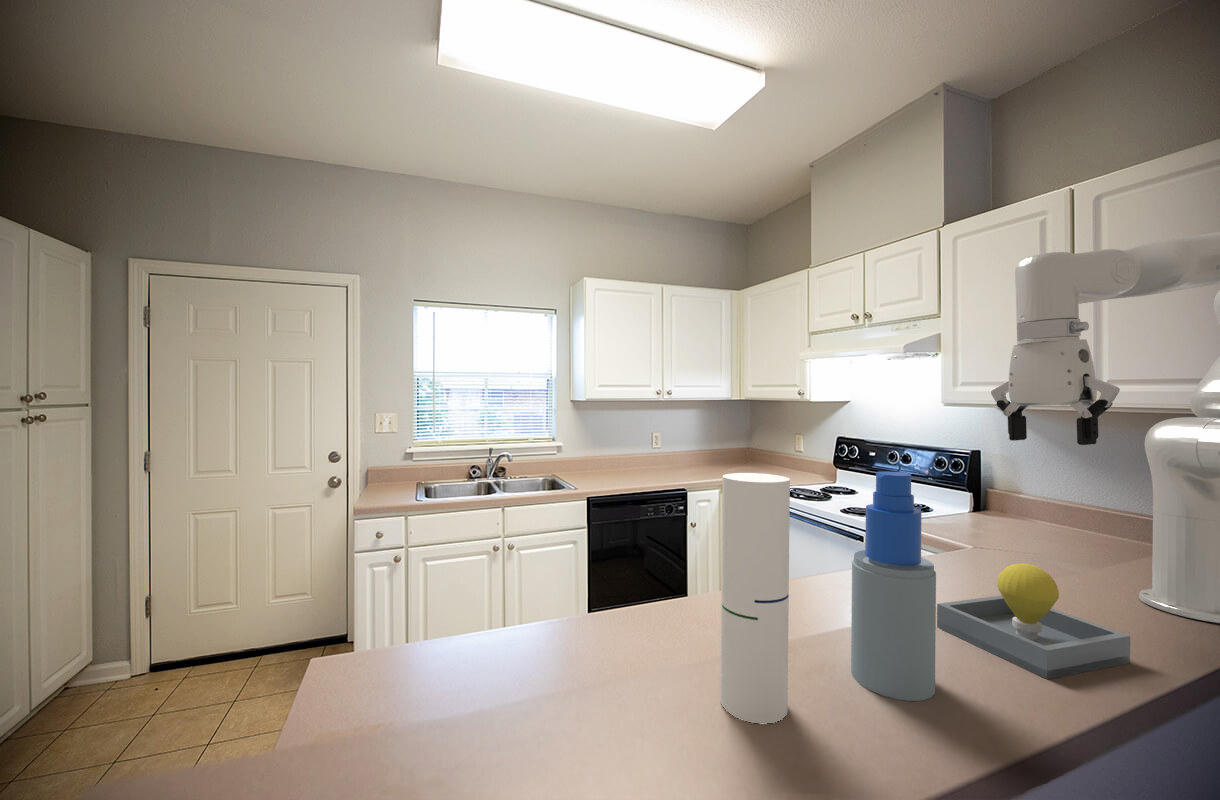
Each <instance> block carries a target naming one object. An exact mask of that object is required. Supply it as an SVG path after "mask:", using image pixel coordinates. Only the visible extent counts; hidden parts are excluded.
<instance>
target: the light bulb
mask: <svg viewBox="0 0 1220 800" xmlns="http://www.w3.org/2000/svg"><path fill="white" fill-rule="evenodd" d="M996 583H997V588H998V591H999V592H1000V595H1002V596H1003V598H1004V600H1005V602H1006V604H1007V605H1008V606H1009V608H1010V609H1011V611H1012V612H1013V613H1014V615H1015V616H1016V617H1013V618H1012V625H1013V626H1014V627H1015V628H1016V634H1017V635H1020V636H1022V637H1025V638H1027V639H1030V640H1036V639H1038V633H1039V632H1041V631H1042V624H1041V623H1040V622H1038V621H1039V620H1040V619H1041V618H1042V617H1043V616H1044V615H1045V614H1047V613H1048V612H1049V611H1050V609H1051V608H1052V609H1053V606H1054V605H1055V604H1056V602H1057V601H1058V600H1059V595H1060V593H1059V588H1058V585H1057V583H1056V581H1055V580H1054V579H1053V577H1052V576H1051V575H1050V573H1048V572H1047V571H1046V570H1044V569H1042V568H1040V567H1039V566H1036V565H1034V564H1029V563H1023V562H1021V563H1013V564H1010V565H1008V566H1006V567H1005V568H1003V570H1001V571H1000V573H999V574H998V577H997V582H996Z"/></svg>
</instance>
